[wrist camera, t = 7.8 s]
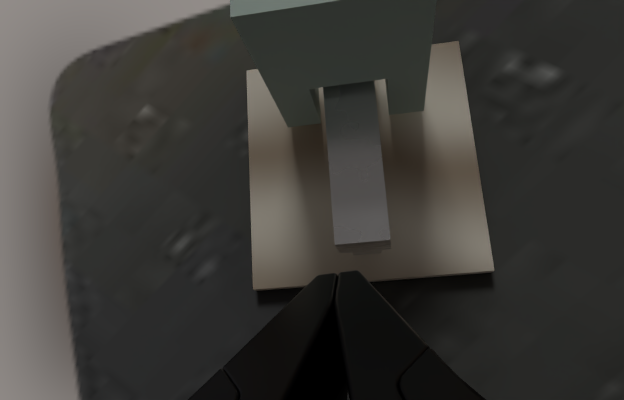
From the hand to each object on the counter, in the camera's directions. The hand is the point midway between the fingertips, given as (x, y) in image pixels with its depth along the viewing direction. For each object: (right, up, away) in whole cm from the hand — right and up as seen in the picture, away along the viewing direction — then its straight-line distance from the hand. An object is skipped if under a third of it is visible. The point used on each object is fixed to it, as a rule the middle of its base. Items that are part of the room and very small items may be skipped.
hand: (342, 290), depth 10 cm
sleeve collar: (+1, +7, +13) cm, 15 cm away
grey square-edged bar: (+1, +4, +13) cm, 14 cm away
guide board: (+2, +3, +13) cm, 13 cm away
